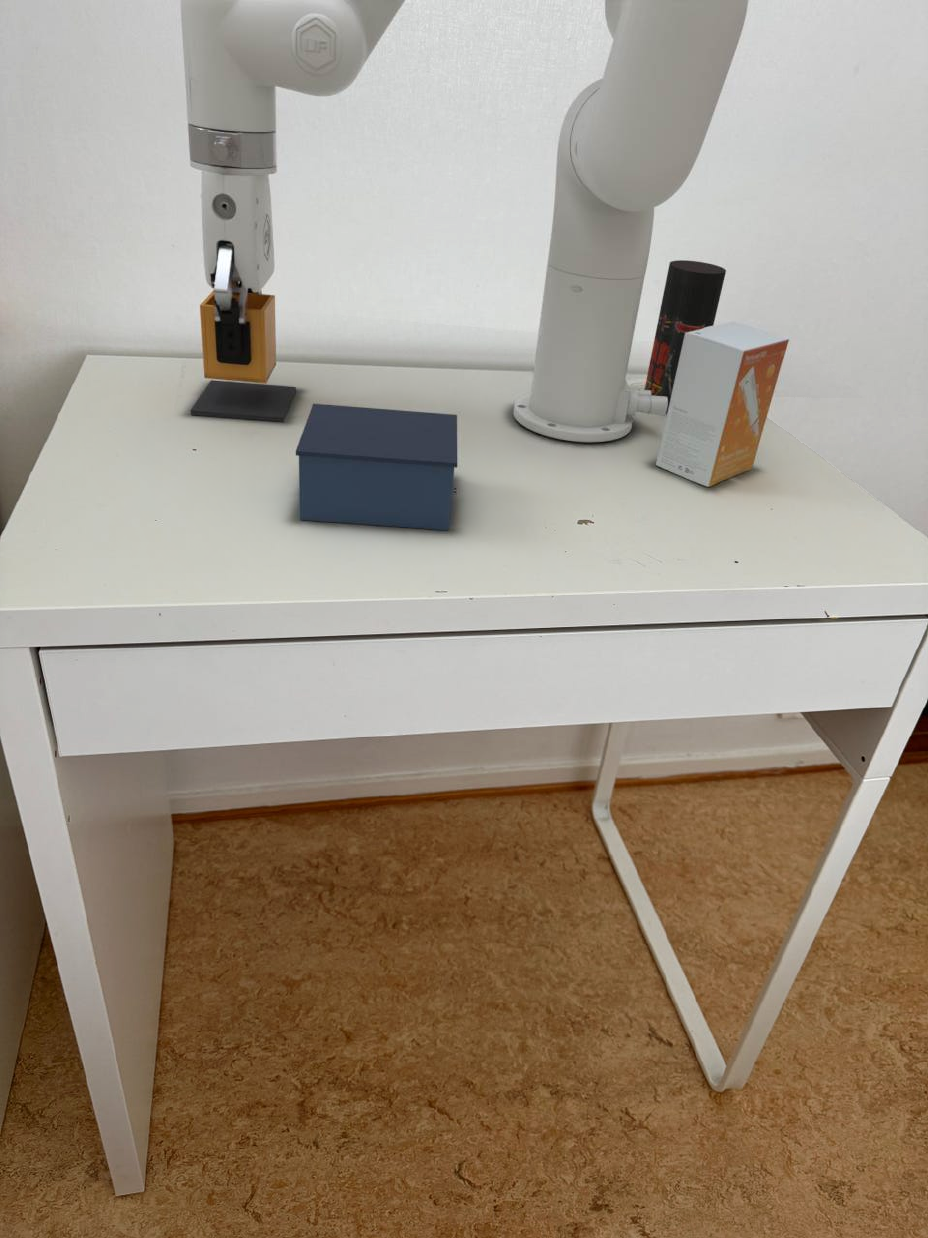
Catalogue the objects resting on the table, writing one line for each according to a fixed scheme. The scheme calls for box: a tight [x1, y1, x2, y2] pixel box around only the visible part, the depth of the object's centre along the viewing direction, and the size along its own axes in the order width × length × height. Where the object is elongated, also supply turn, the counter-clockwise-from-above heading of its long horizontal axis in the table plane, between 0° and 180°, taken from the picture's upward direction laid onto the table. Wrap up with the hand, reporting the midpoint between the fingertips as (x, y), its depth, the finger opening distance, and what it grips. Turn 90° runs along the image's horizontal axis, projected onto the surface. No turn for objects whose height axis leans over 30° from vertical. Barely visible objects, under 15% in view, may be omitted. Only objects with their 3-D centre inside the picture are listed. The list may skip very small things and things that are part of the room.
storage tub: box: [295, 403, 458, 531], centre depth 76 cm, size 12×10×6 cm
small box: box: [655, 321, 790, 488], centre depth 86 cm, size 8×6×13 cm
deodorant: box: [643, 259, 727, 413], centre depth 100 cm, size 6×6×15 cm
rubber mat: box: [190, 379, 297, 423], centre depth 93 cm, size 9×9×1 cm
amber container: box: [199, 289, 277, 385], centre depth 90 cm, size 6×6×7 cm
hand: (241, 350), depth 90 cm, fingers closed on amber container, 6 cm apart
